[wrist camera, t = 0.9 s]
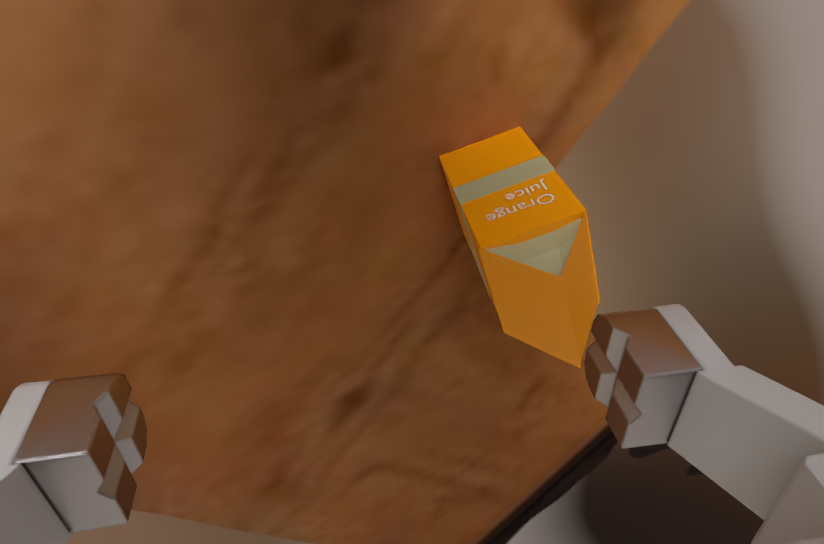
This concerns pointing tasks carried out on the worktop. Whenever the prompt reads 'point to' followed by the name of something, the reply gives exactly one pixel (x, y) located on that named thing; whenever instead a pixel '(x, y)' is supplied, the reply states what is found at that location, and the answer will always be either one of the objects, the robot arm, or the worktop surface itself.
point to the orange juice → (527, 241)
